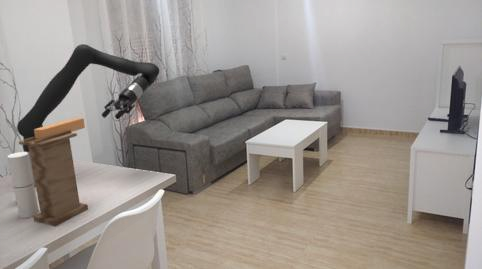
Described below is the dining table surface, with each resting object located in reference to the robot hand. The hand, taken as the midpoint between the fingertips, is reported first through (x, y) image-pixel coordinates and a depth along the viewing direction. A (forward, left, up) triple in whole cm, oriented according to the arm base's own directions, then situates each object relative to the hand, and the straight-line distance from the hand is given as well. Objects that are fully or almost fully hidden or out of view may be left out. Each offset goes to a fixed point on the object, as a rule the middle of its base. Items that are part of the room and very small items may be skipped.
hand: (109, 117), depth 182 cm
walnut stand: (0, -32, -33) cm, 46 cm away
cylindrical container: (-14, -36, -33) cm, 51 cm away
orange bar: (0, -26, -1) cm, 26 cm away
